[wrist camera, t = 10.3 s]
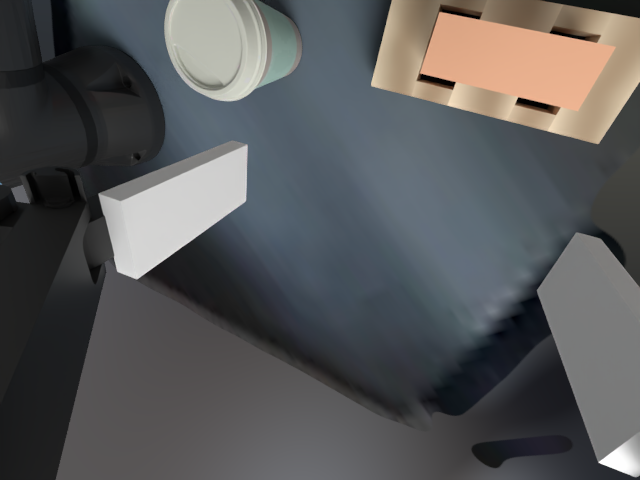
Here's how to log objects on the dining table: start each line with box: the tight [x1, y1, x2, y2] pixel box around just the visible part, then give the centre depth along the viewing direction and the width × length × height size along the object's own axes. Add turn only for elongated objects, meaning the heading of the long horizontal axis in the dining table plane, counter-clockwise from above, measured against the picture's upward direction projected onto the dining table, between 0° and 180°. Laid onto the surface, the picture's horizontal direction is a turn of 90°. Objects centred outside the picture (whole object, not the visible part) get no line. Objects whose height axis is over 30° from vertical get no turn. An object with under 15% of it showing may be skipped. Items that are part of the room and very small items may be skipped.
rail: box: [371, 0, 640, 144], centre depth 27 cm, size 19×8×4 cm, turn 79°
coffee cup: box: [164, 0, 302, 101], centre depth 29 cm, size 9×9×12 cm
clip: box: [420, 12, 616, 111], centre depth 24 cm, size 10×4×10 cm, turn 79°
